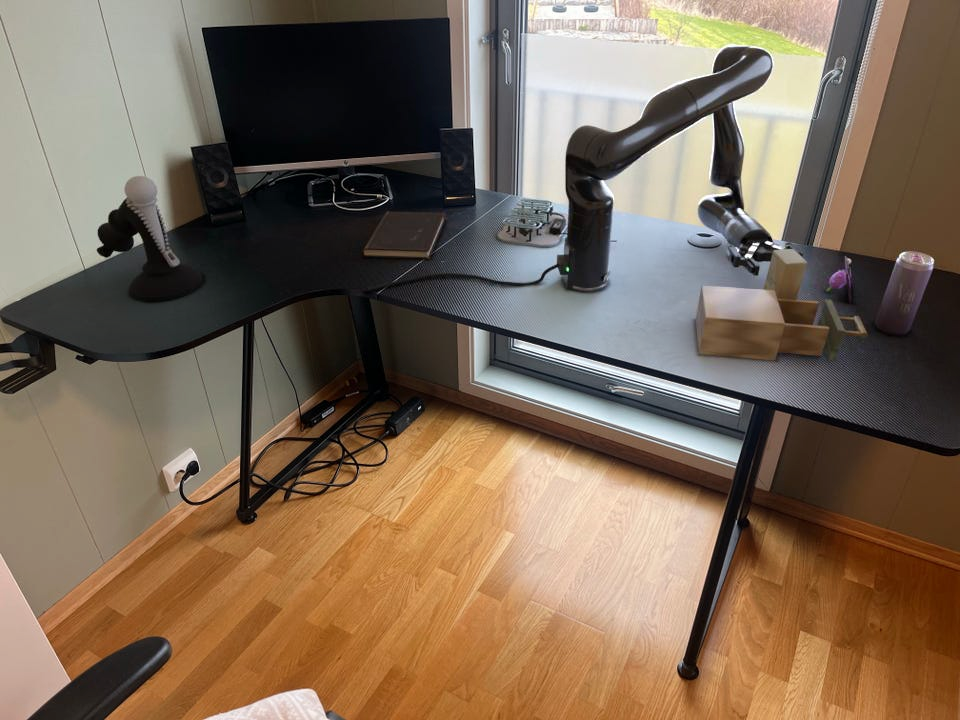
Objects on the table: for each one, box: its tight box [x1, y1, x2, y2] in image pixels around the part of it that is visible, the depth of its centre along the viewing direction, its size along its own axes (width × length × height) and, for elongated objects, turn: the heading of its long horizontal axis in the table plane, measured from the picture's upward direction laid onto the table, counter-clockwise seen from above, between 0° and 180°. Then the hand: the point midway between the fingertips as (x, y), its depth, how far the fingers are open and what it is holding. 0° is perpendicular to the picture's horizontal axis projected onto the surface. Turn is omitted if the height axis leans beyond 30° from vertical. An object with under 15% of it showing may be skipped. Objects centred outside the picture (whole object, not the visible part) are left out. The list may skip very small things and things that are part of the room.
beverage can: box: [874, 250, 935, 336], centre depth 131 cm, size 6×6×15 cm
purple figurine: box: [826, 255, 852, 304], centre depth 146 cm, size 7×5×9 cm
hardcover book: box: [362, 210, 446, 260], centre depth 174 cm, size 16×23×2 cm
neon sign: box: [497, 198, 618, 248], centre depth 175 cm, size 21×4×29 cm
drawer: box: [777, 298, 869, 361], centre depth 128 cm, size 17×11×6 cm, turn 79°
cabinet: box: [695, 284, 785, 362], centre depth 131 cm, size 13×12×8 cm
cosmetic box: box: [762, 249, 808, 300], centre depth 138 cm, size 6×4×12 cm
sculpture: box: [96, 175, 204, 303], centre depth 151 cm, size 15×24×25 cm, turn 71°
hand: (778, 270), depth 140 cm, fingers open, 8 cm apart
